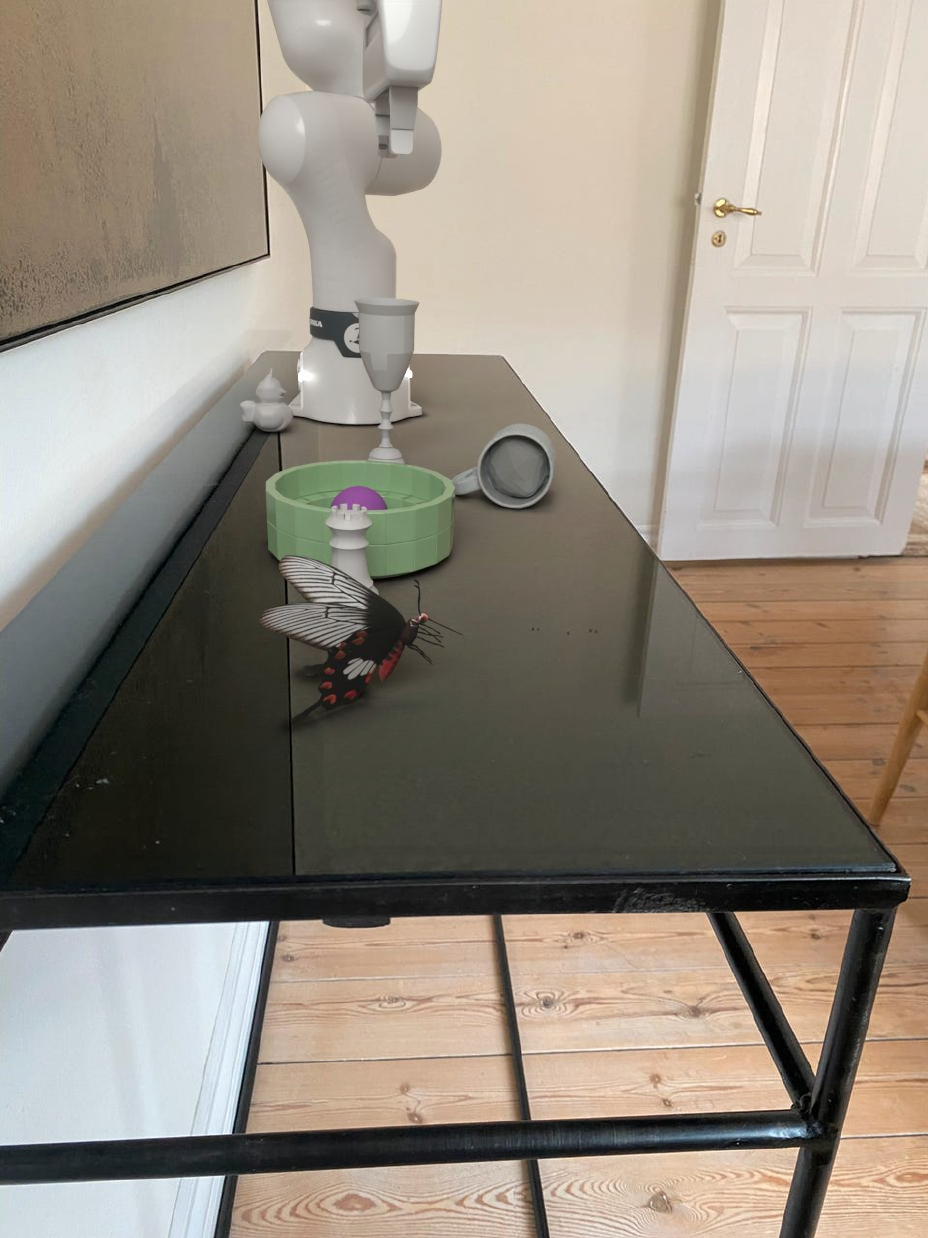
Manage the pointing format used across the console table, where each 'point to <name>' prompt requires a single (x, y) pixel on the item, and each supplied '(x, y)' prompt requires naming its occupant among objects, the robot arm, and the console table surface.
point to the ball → (360, 498)
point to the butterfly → (342, 629)
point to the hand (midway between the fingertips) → (393, 156)
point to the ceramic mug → (512, 467)
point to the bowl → (396, 536)
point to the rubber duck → (268, 407)
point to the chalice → (386, 356)
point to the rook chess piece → (350, 542)
